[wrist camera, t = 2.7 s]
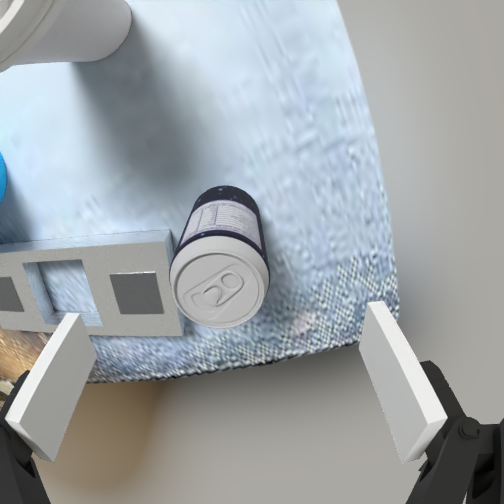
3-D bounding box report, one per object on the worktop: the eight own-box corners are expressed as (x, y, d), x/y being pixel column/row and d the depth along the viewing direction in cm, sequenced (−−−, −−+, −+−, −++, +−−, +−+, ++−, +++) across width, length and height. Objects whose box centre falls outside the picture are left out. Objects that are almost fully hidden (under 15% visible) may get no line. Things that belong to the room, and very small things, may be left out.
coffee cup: (121, 90, 22) (5, 92, 9) (36, 67, 20) (-88, 72, 7) (169, -10, 19) (103, -100, 5) (77, -25, 17) (-23, -79, 3)
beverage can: (179, 214, 27) (143, 290, 17) (226, 169, 26) (217, 220, 15) (225, 256, 29) (219, 349, 19) (272, 216, 28) (294, 294, 17)
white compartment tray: (11, 316, 32) (1, 328, 30) (-17, 246, 28) (-29, 256, 25) (185, 320, 32) (182, 336, 30) (170, 229, 28) (164, 241, 26)
